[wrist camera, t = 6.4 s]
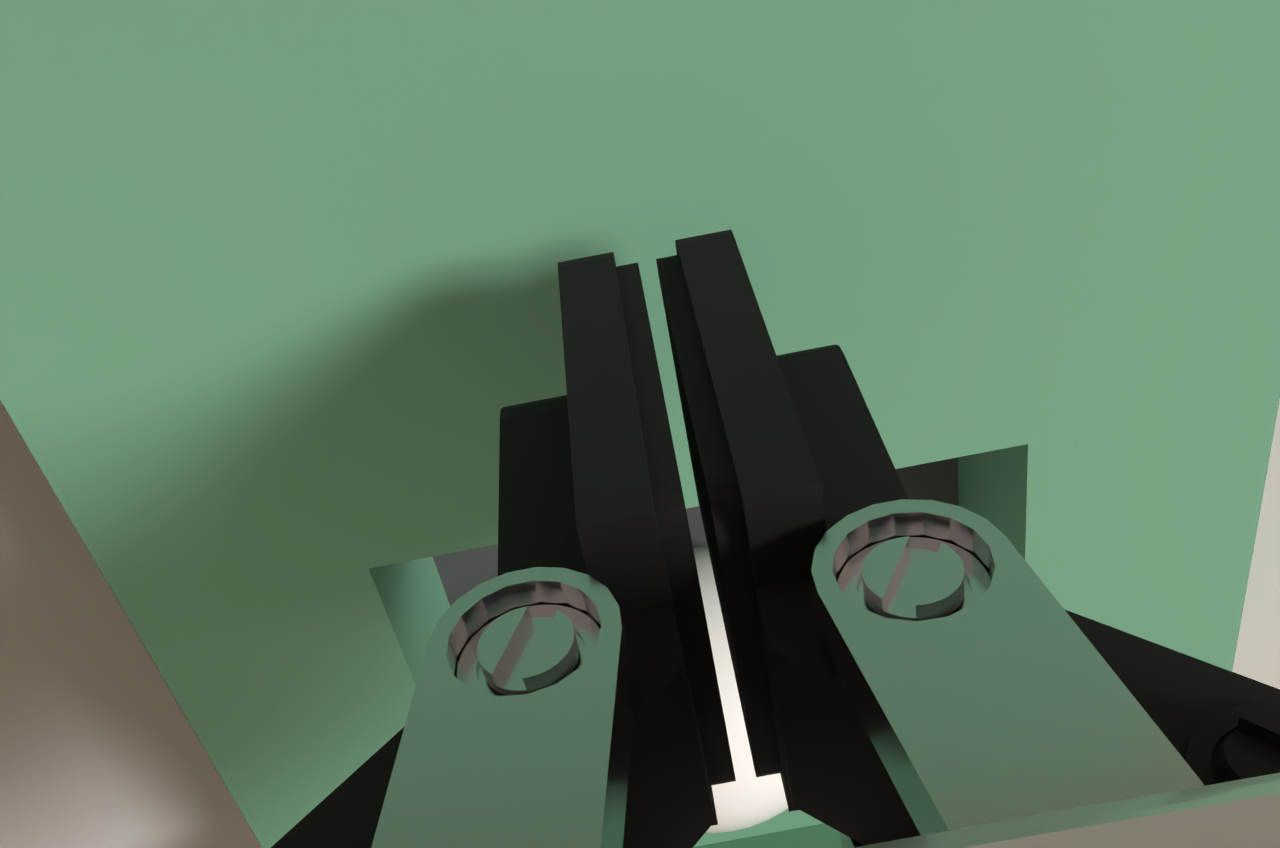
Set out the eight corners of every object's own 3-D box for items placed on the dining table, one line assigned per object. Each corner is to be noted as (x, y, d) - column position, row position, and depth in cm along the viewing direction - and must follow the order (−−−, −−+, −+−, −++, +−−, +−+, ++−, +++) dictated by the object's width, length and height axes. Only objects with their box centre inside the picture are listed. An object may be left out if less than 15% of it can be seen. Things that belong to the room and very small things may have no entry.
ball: (871, 802, 14) (852, 846, 18) (840, 496, 16) (830, 592, 20) (542, 813, 15) (588, 855, 18) (548, 512, 16) (590, 603, 20)
